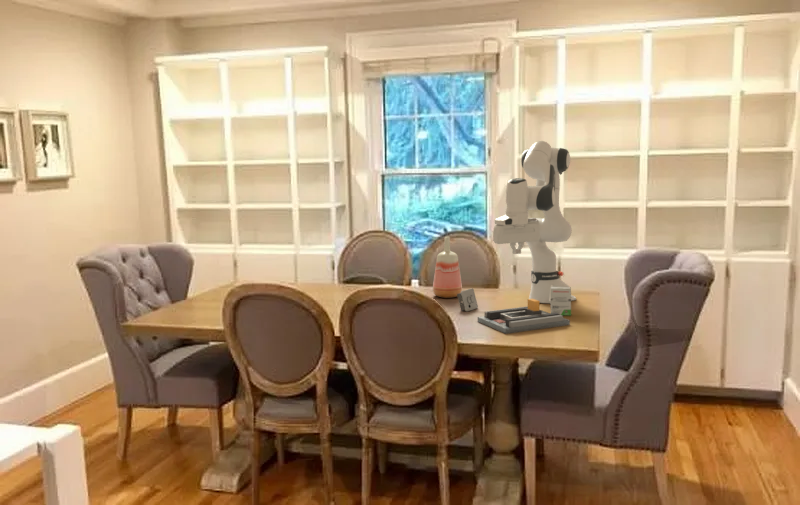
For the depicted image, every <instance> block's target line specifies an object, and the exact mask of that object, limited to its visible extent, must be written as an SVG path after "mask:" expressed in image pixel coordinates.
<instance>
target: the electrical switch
mask: <svg viewBox="0 0 800 505" xmlns="http://www.w3.org/2000/svg"><path fill="white" fill-rule="evenodd" d="M457 301H458V304H459V308H460V311H461V312H463V311H465V312H469V311H473V310H475V309H478V308H479V305H478V302H477V297H476V294H475V290H474V288H471V287H470V288H468V289H465V290H464V289H463V290H462V291H461V293H459V294H457Z"/></svg>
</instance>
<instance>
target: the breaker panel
mask: <svg viewBox="0 0 800 505" xmlns="http://www.w3.org/2000/svg"><path fill="white" fill-rule="evenodd" d="M549 313H550V312H547V311H544V310H542V314H549ZM535 315H541V314H535ZM527 316H534V315H527ZM518 317H526V316H525V311H517V312H509V313H501V314H500V317H499V318H491V319H490V318H487V317H485V316H484V315H483V316H482V315H481V316H477V322H478V323H479V324H482V325H485V326H487V327H488V328H489V327H490V328H492V329H494V330H496V331H498V332H500V333H503V334H515V333H522V332H528V331H536V330H542V329H549V328H556V327H565V326H571V320H570V319H568V318H564V317H563V321H557V322H550V323H543V324H535V325H528V326H520V327H513V328H511V327H509V326H507V325H506V319H510V318H518Z"/></svg>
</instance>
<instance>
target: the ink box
mask: <svg viewBox="0 0 800 505" xmlns="http://www.w3.org/2000/svg"><path fill="white" fill-rule="evenodd" d="M571 295H572V288H571V286H569V287H551V303H550V313H559V314H560V315H562V316H572V301H571Z"/></svg>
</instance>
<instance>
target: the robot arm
mask: <svg viewBox="0 0 800 505" xmlns="http://www.w3.org/2000/svg"><path fill="white" fill-rule="evenodd" d="M520 163H521V167H522V169H523V171H524V172H525V174H526V175H527V176H528V177H529V178H531V179H533V180H535V185H530V186H529V185H528V181H527V179H525V178H522V177H519V178H511V179H509V180H507V184H506V190H505V204H506V209H505V214H504V215H502V216H499V217H497V218H495V219H494V228H493V231H492V233H493V234H492V239H493V240H492V241H493V243H494V244H496V245H504V244H505V245H506V244H509V245H510V248H511V250H512V254H513V255H517V254H518V255H519V254H522V249H523V247H524V244H525V243H526V244H527V246H528V249H529V250H530V254H531V262H532V263H531V266H532V267H531V271H530V272H531V274H530V278H531V279H530V280H531V286H530V292H529V296H528V299H535V300H538V301H539V304H540V303H541V304H551V287H570V285H568V283H566V282H565V281H563V280H562V279H561V278H560V277H563V276H564V272H563V271H561V270H559V271H558V270H557V254H556V253H555V252H554V251H553V250H552V249H550V248H549V247H548V246H547V243H562V242H567V241H569V239H570V238H571V235H572V225H571V224H570V222H569V220H567V219H566V218H565V216H564V215H563V214H562V212H561V209H560V188H561V182H560V181H561V178H560V175H562V174H563V173H565V172H566V171H567V170H568V169H569V166H570V164H571V154H570V152H569V150H568V149H566V148H562V147H559V148H556V147H551V145H550V143H548V142H547V141H544V140H538V141H536V142H534V143H533V144H532V145H531V146H530V147H529V148H527V149H525V150H523V152H522V154H521V158H520ZM531 210H532V211H534V210H535V211H542V213H543V215H544V216H543V218H542V217H529V211H531ZM516 243H517V244H516ZM516 245H518V246H517V248H516ZM576 300H577V297H576V296H574V295H572V294H571V302H572V301H576Z"/></svg>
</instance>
